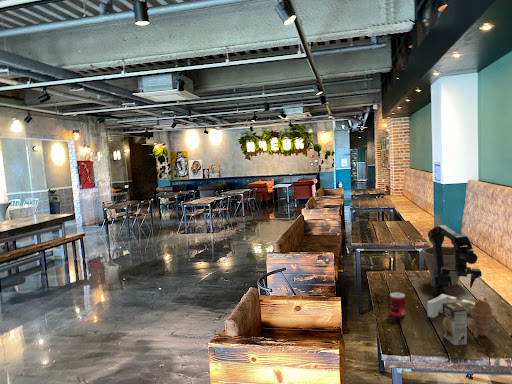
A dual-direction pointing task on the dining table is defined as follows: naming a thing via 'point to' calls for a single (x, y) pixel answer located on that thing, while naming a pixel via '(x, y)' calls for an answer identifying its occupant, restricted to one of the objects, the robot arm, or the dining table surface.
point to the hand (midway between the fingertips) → (460, 287)
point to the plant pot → (447, 259)
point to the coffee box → (454, 323)
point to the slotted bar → (436, 306)
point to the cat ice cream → (482, 316)
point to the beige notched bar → (462, 303)
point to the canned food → (397, 304)
